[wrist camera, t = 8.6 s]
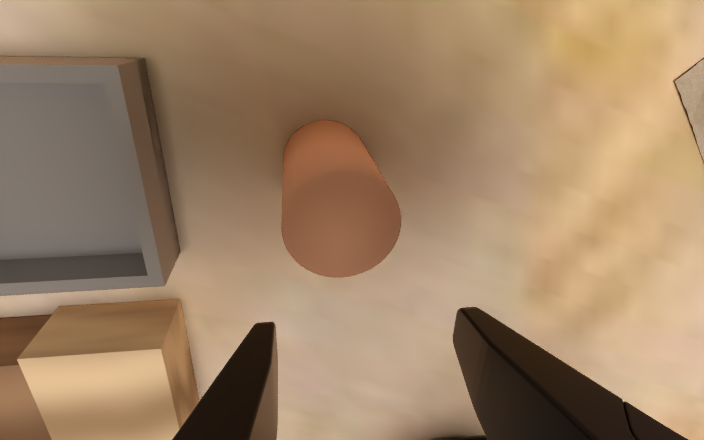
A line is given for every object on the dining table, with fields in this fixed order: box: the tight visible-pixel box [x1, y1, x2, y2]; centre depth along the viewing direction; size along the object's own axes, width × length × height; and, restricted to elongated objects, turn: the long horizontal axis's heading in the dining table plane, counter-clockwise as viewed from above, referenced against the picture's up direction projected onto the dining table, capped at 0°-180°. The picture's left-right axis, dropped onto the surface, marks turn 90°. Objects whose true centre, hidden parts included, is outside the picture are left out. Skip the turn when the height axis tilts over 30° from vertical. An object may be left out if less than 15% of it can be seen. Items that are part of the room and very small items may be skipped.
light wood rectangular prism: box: [17, 299, 199, 440], centre depth 22 cm, size 9×6×4 cm, turn 178°
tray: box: [0, 56, 180, 296], centre depth 17 cm, size 9×9×3 cm
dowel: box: [282, 120, 401, 277], centre depth 17 cm, size 4×4×7 cm
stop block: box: [0, 315, 52, 440], centre depth 22 cm, size 10×3×4 cm, turn 179°
